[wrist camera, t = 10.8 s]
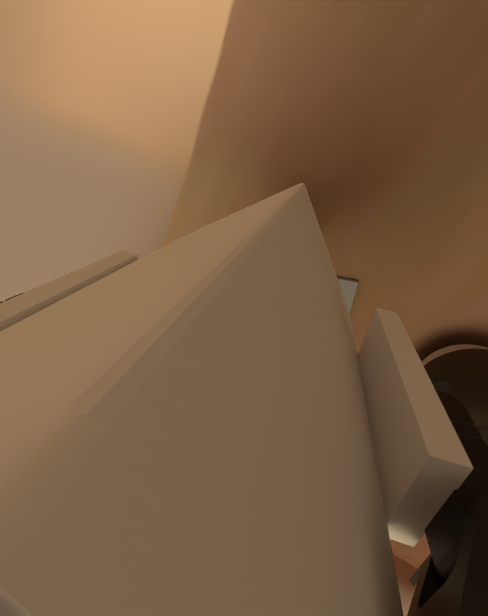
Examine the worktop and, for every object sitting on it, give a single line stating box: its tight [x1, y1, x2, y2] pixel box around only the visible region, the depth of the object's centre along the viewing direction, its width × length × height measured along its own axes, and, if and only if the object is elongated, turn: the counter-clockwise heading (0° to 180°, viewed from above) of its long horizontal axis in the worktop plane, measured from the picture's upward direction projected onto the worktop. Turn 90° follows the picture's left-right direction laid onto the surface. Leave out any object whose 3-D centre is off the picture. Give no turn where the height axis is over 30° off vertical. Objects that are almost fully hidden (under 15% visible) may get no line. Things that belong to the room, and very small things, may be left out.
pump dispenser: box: [422, 344, 488, 446], centre depth 26 cm, size 10×10×15 cm
